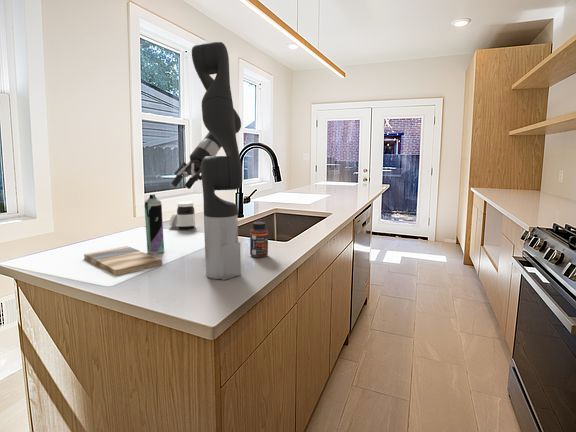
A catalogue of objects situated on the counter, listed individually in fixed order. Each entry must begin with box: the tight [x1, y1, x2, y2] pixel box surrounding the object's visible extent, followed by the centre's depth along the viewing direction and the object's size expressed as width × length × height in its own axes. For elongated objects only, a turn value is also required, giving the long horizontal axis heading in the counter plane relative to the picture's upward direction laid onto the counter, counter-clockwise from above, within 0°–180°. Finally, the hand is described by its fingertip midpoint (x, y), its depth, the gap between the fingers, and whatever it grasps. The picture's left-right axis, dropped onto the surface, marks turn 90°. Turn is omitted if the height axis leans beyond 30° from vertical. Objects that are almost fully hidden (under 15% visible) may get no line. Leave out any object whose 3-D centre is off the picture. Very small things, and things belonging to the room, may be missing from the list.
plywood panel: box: [83, 245, 163, 276], centre depth 117 cm, size 24×14×2 cm, turn 48°
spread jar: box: [168, 201, 196, 231], centre depth 167 cm, size 12×11×12 cm
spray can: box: [143, 193, 165, 255], centre depth 127 cm, size 6×6×20 cm
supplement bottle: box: [249, 221, 269, 259], centre depth 123 cm, size 6×6×11 cm
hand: (180, 186), depth 133 cm, fingers open, 8 cm apart
